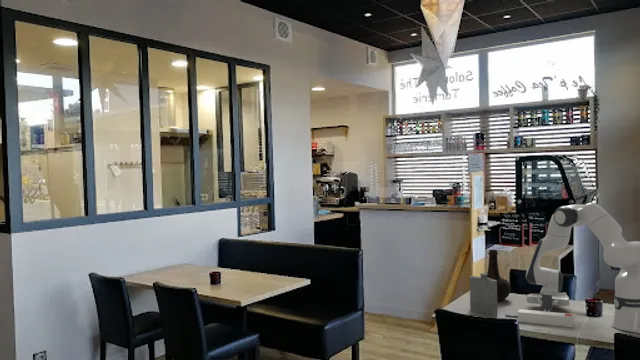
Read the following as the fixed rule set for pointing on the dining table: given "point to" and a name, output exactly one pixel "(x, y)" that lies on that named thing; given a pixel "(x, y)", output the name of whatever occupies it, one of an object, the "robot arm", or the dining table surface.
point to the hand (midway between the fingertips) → (547, 303)
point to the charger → (547, 302)
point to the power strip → (544, 317)
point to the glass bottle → (497, 276)
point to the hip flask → (483, 294)
